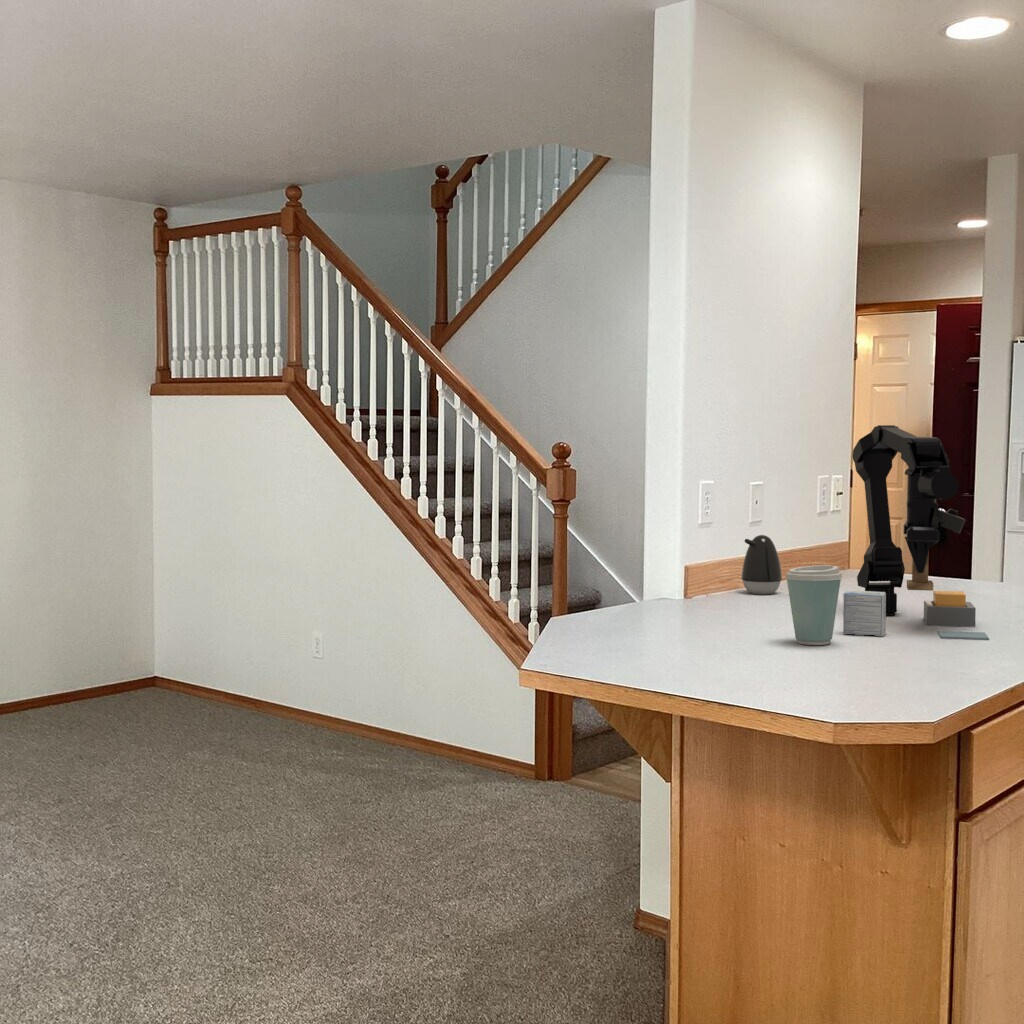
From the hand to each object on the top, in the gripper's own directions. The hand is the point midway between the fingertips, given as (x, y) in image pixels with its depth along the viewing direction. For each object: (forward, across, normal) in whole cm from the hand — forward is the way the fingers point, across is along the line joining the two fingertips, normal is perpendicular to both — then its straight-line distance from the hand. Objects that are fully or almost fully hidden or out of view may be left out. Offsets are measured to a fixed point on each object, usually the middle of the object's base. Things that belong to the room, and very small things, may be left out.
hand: (920, 571), depth 245 cm
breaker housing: (+12, +9, -7) cm, 16 cm away
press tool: (+4, 0, 0) cm, 4 cm away
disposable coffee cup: (+12, -24, +21) cm, 34 cm away
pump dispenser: (+12, +49, +36) cm, 62 cm away
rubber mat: (+12, -9, -8) cm, 17 cm away
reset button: (+9, +9, -7) cm, 14 cm away
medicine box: (+12, -11, +11) cm, 20 cm away
